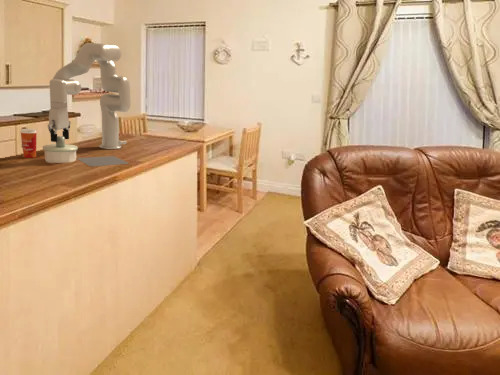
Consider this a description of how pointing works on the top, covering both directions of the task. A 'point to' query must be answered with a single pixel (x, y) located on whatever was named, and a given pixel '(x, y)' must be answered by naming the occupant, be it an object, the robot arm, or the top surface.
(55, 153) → the bowl
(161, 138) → the top surface
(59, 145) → the lid
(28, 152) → the paper cup
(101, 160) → the mat
